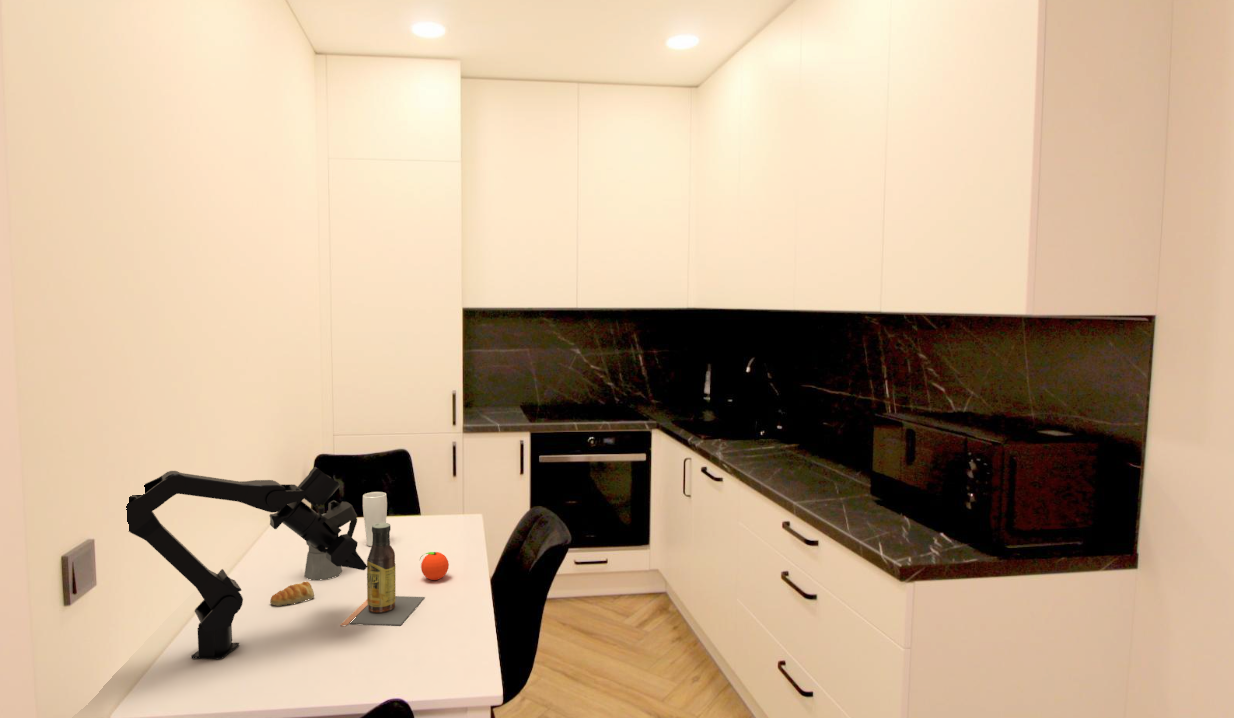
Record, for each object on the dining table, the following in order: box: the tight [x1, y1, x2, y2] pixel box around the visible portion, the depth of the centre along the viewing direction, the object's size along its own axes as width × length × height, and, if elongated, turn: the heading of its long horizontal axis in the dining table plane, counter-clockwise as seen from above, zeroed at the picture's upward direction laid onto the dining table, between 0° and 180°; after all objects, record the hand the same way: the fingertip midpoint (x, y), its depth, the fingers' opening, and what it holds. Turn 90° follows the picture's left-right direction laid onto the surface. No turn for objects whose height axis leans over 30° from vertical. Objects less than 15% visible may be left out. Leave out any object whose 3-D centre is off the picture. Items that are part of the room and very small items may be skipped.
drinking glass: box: [362, 491, 388, 547], centre depth 224 cm, size 7×7×15 cm
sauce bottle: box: [366, 522, 396, 613], centre depth 175 cm, size 6×6×20 cm
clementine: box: [419, 551, 450, 581], centre depth 196 cm, size 8×7×7 cm
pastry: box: [269, 581, 315, 607], centre depth 182 cm, size 9×7×4 cm
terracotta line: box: [340, 599, 368, 626], centre depth 180 cm, size 26×2×1 cm, turn 176°
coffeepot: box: [304, 506, 358, 581], centre depth 200 cm, size 15×9×18 cm, turn 116°
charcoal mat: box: [349, 595, 425, 627], centre depth 175 cm, size 16×12×1 cm
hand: (358, 562), depth 171 cm, fingers open, 9 cm apart
